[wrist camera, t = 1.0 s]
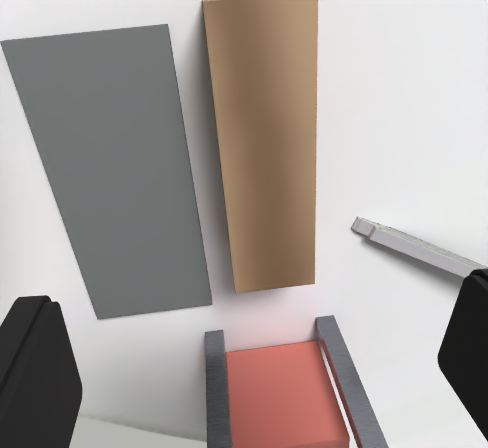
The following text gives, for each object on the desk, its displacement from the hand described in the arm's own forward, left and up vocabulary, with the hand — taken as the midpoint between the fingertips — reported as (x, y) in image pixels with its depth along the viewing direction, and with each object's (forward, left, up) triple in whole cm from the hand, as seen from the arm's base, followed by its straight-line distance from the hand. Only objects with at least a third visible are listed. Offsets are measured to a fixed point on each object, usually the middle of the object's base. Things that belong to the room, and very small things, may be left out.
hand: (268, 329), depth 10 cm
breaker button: (-2, +21, -18) cm, 28 cm away
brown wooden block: (-2, +1, -19) cm, 19 cm away
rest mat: (+7, +4, -19) cm, 21 cm away
